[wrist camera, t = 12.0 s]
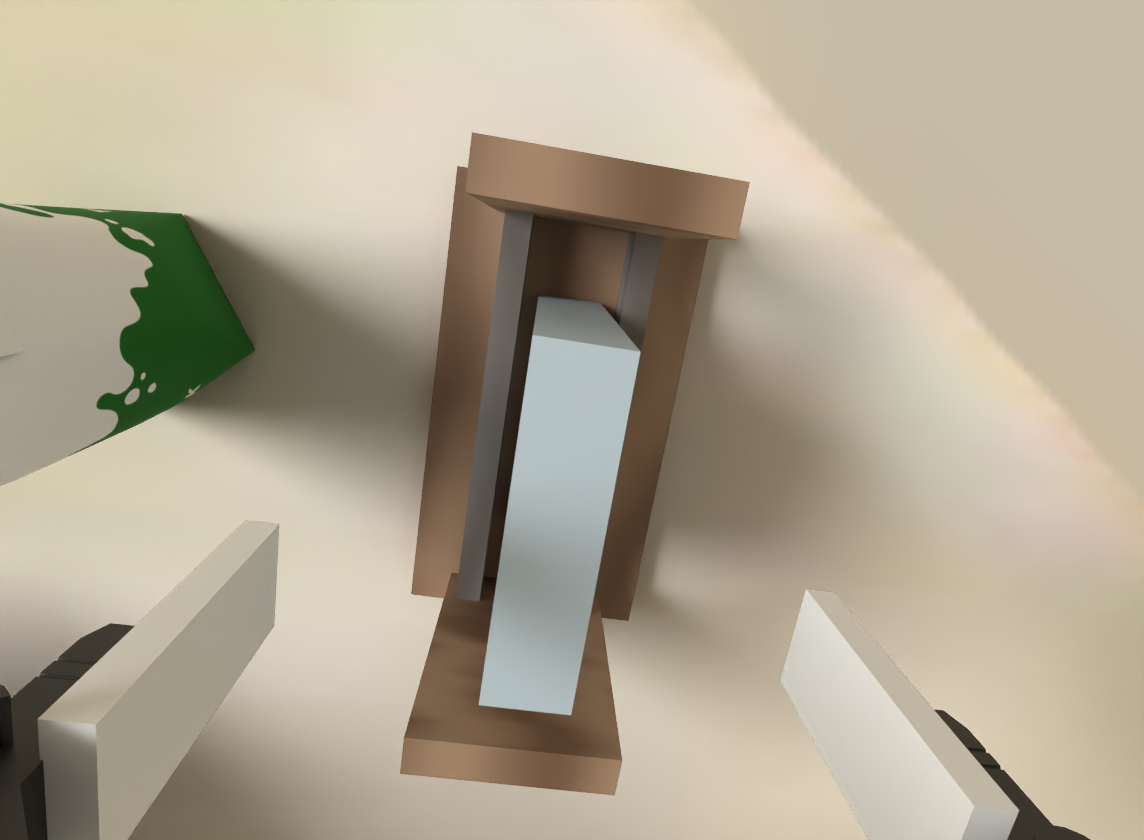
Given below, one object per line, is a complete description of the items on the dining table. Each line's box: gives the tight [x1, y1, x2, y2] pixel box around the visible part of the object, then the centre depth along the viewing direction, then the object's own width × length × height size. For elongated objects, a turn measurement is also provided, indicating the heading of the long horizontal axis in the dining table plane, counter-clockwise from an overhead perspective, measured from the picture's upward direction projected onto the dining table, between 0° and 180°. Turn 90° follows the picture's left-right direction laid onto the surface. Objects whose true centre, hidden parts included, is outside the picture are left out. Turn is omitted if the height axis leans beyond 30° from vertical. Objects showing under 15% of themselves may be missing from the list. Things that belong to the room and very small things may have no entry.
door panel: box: [479, 293, 641, 715], centre depth 26 cm, size 3×12×14 cm, turn 171°
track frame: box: [400, 133, 750, 795], centre depth 28 cm, size 12×22×14 cm, turn 171°
